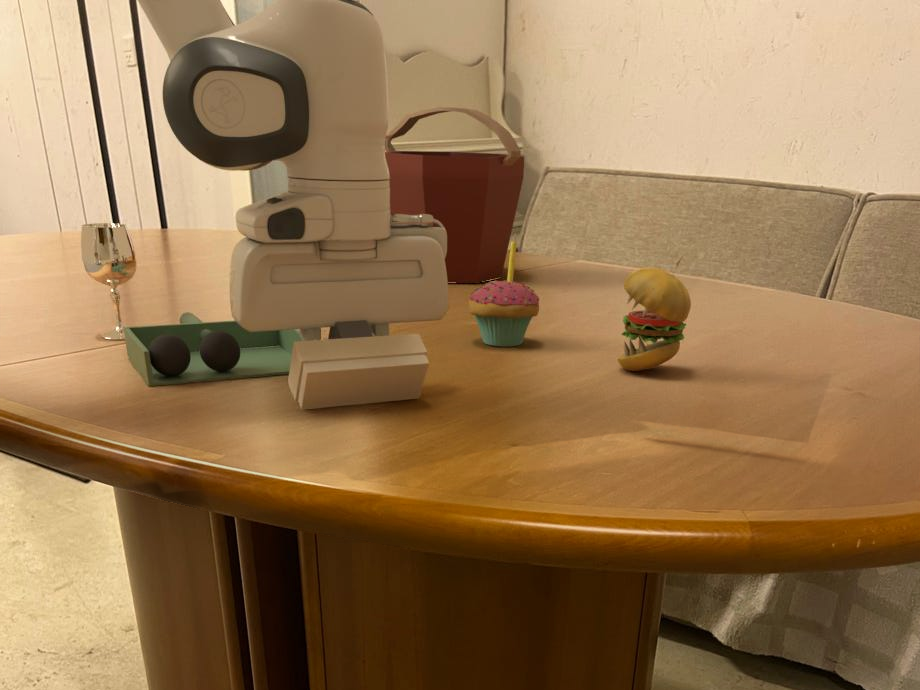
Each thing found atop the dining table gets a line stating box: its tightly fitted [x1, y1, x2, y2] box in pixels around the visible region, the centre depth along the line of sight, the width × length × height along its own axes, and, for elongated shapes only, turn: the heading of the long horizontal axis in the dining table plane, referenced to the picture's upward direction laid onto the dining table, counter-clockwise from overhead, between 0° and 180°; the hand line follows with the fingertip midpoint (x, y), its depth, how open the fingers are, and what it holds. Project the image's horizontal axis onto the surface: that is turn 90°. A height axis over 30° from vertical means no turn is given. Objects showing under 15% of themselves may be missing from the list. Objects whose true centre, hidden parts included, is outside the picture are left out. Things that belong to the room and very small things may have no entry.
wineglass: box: [80, 222, 137, 341], centre depth 106 cm, size 6×6×12 cm
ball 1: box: [148, 334, 191, 376], centre depth 92 cm, size 4×4×4 cm
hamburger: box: [617, 254, 692, 372], centre depth 98 cm, size 8×7×12 cm
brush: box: [287, 320, 430, 411], centre depth 85 cm, size 5×12×7 cm
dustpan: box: [123, 311, 302, 387], centre depth 101 cm, size 22×17×3 cm
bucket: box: [385, 106, 525, 283], centre depth 152 cm, size 24×22×25 cm
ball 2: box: [200, 331, 240, 372], centre depth 94 cm, size 4×4×4 cm
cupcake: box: [468, 233, 540, 348], centre depth 109 cm, size 9×8×12 cm
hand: (346, 373), depth 88 cm, fingers closed on brush, 3 cm apart
